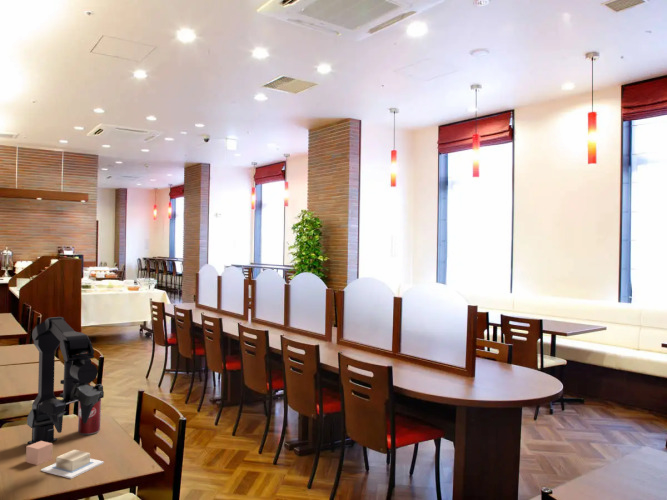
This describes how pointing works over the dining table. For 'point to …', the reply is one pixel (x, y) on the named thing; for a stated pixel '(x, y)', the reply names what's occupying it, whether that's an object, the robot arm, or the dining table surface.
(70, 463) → the maple block
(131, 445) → the dining table surface
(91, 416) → the soda can
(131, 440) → the dining table surface
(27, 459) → the terracotta cube
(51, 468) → the board
